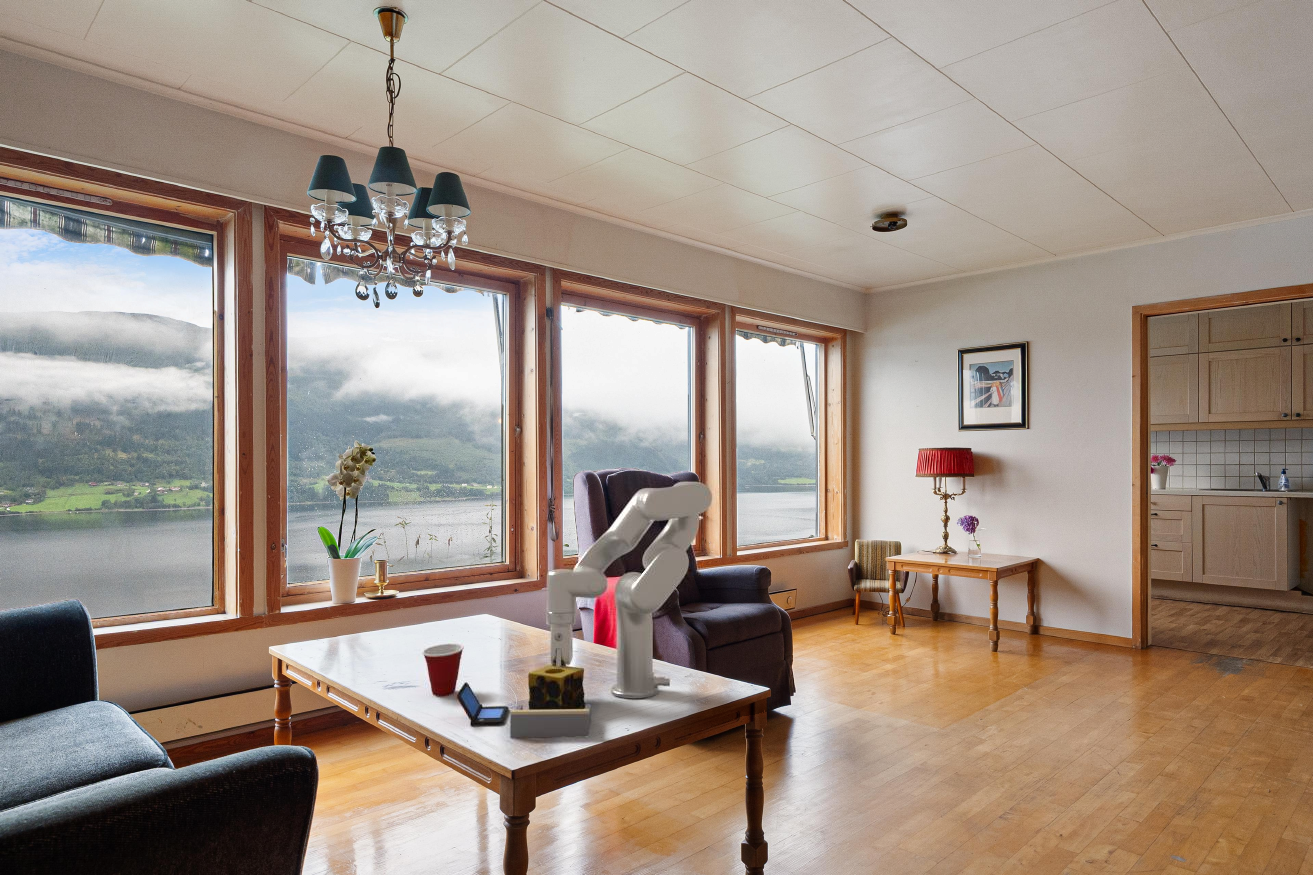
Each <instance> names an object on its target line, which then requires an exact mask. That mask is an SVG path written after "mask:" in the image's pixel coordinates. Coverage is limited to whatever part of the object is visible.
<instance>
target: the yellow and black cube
mask: <svg viewBox="0 0 1313 875" xmlns="http://www.w3.org/2000/svg"><path fill="white" fill-rule="evenodd" d="M584 674H585V669H584V667H576V666H570V665H567V666H562V665H561V667H556V665H552V664H549V665H546V666H543V667H541V668H538V669H535V670H532V671H530V672H528V678H527V679H528V680H527V681H528V682H527V683H528V695H529V696H528V697H529V698H528V710H558V709H585V706H586V703H585V695H586V694H585V693H586V692H585V690H584Z"/></svg>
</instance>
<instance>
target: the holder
mask: <svg viewBox="0 0 1313 875" xmlns="http://www.w3.org/2000/svg"><path fill="white" fill-rule="evenodd" d="M591 723H592V704H589V703H588V704H586V703H585V708H584V709H558V710H529V709H523V704H517V705H516V707H515V709H511V710H510V727H509V730H510V732H509V734H510V739H511V738H562V737H561V736H566V737H565V738H568V737H569V738H572V737H573V738H575V737H574V736H578V737H579V736H588V735H589V734H590V730H589V729H591ZM557 736H559V737H557ZM570 736H571V737H570ZM588 737H589V736H588Z"/></svg>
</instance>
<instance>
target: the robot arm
mask: <svg viewBox="0 0 1313 875" xmlns="http://www.w3.org/2000/svg"><path fill="white" fill-rule="evenodd" d="M712 500H713V494H712V491H711V489H710V488H709V486H707V485H706V484H705V483H702V482H699V481H679V482H676V483H675V484H674V485H673V486H669V487H667V486H666V487H660V488H659V487H657V488H656V487H655V488H652V487H645V488H644V487H643V488H641V489H639V490H638V491H636V492H635V494H634V495H633V496H632V497H631V499H630V500H629V502H628V503H627V504H626V506H625V507H624V508H623V510H622V511H621V512H620V514H619V515H618V516H617V518H616V519H615V520H614V522H612V524H611V526H610V527H609V528H608V529H607V531H605V532H604V533H603V534H602V535H601V536H600V537H599V538H598V539H597V540H595V542H594V543H593V544H592V545H591V546H590V547H589V548H588V549H587V550H586V551H585V553H584V554H583V556H582V557H580V559H579V561H578V563H576V564H575V566H574V568H573V569H568V568H567V569H566V568H560V569H559V568H558V569H552V570H550V571H548V572H547V573H546V614H545V615H546V617H545V619H546V623H545V624H546V625H547V626H549V627H550V637H549V638H550V640H549V641H550V645H549V646H550V649H549V650H550V652H549V653H550V665H556V667H561V665H562V666H570V665H571V663H572V661H573V658H574V653H573V652H574V651H573V650H574V649H573V644H574V643H573V626H574V625H576V623H577V622H576V620H577V619H576V614H577V613H576V610H577V608H576V606H577V605H576V604H577V603H576V602H577V601H576V599H577V598H583V599H596V598H597V599H598V598H599V597H602V596H603V595H604V594H605V593H606V592H607V589H608V584H609V582H608V578H607V576H606V575H605V574H604V572H605V571H606V569H608V567H609V566H610V565H611V564H612V563H613V562H614V561H615V560H617V559H618V558H620V557H621V556H623V555H626V554H628V553H629V552H631V551H632V550H634V549H635V548H636V547H637V545H638V544H639V542H640V541H641V540H642V538H643V537H644V535H645V534H646V532H647V531H648V530H649V529H650V527H651V526H652V524H653V523H654V522H655V521H657V522H659V521H668V522H667V523H666V525H665V526H664V527H663V529H662V530H661V532H659V534H658V535H657V536H656V538H655V539H654V540H653V541H652V543H651V544H650V545H649V547H647V549H645V551H644V554H643V556H642V566H643V568H644V569H645V570H644V571H643V573H641V572H638V571H637V572H636V571H631V572H627V573H624V574H623V575H622V576H620V577H619V578H618V580H617V582H616V584H615V588H614V602H615V609H616V610H615V611H616V684H614V685H613V686H611V688H610V692H611V694H612V695H613V696H615V697H617V698H623V699H644V698H645V699H646V698H649V697H650V698H651V697H653V696H655V695H657V694H658V693H659V686H661V687H662V686H663V687H670V686H671V683H670V682H671V681H670V677H669V678H668V677H667V678H665V676H664V677H663V676H660V677H657V676H655V674H654V670H653V663H654V662H653V656H654V655H653V650H654V649H653V643H654V642H653V634H654V633H653V632H654V630H653V627H654V626H653V615H652V613H655V612H656V611H658V610H659V609H660V608H661V607H662V606H663V604H664V603H665V602H666V601H667V600H668V598H669V597H670V596H671V594H672V593H673V592H674V591H675V590H676V588H677V587H678V585H680V583H681V582H682V581H683V579H684V577H686V576H685V575H686V574H687V573H688V570H689V566H690V564H689V562H690V561H689V560H690V559H689V556H688V553H687V550H689V548H690V545H691V544H692V543H693V542H694V540H695V538H696V537H697V535H698V531H699V526H700V514H702V513H704V512H706V511H707V510H708V509H709V508H710V506H712V505H711V504H712V502H713V501H712Z"/></svg>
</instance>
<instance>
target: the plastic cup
mask: <svg viewBox="0 0 1313 875" xmlns="http://www.w3.org/2000/svg"><path fill="white" fill-rule="evenodd" d="M464 647H465V646H464V645H463V644H460V643H444V644H442V643H441V644H437V645H433V646H430V647H426V648H425V649H423V650H422V651H421V654H422V655H423V657H424V659H425V663H426V667H427V673H428V678H429V683H430V689H431V690H430V691H431V693H432V695H433V696H435V697H436V696H437V697H446V696H451V695H453V694H455V691H456V687H457V681H458V678H459V671H460V665H461V659H462V655H463V650H464Z"/></svg>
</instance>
